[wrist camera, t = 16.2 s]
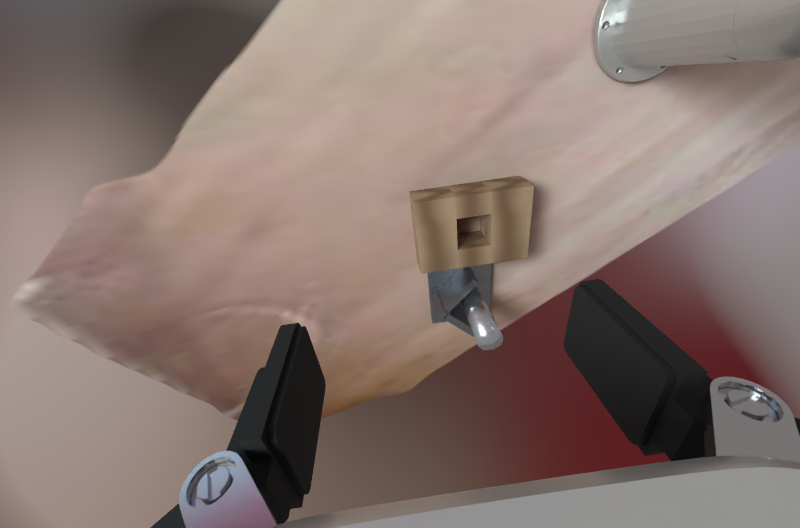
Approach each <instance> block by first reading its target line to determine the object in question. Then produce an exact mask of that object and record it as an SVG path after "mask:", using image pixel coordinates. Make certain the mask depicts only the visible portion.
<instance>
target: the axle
mask: <svg viewBox="0 0 800 528" xmlns="http://www.w3.org/2000/svg"><path fill="white" fill-rule="evenodd" d="M460 302H461V304H462V307H463V309H464V312H465V314H466V316H467V319H468V321H469V324H470V326H471V329H472V331H473V334H474V336H475V339H476V341H477V344H478V346H479V347H480V348H481V349H483V350H492V349H495V348H497V347H498V346H499V345H501V343H502V341H503V336H502V334H501V332H500V330H499V328H498V326H497V324H496V322H495V320H494V318H493V316H492V314H491V312H490V310H489V308H488V306H487V304H486V302H485V300H484V298H483V297H482V295H481V293H480V291H479V289H478V287H477V286H476V287H475V288H474V289H473V290H472V291H471V292H470V293H469V294H468V295H467V296H466V297H464V298H463V299H462V300H461V301H460Z"/></svg>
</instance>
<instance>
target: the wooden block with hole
mask: <svg viewBox="0 0 800 528" xmlns="http://www.w3.org/2000/svg"><path fill="white" fill-rule="evenodd" d="M533 194H534V185H532V184H531V183H529V182H528V181H526V180H525V179H523V178H521V177H520V176H515V177H508V178H501V179H494V180H487V181H480V182H473V183H466V184H459V185H452V186H445V187H438V188H431V189H424V190H417V191H410V199H411V209H412V218H413V227H414V236H415V245H416V255H417V260H418V264H419V268H420V272H421V274H422V273H429V272H436V271H442V270H449V269H456V268H463V267H470V266H477V265H484V264H491V263H497V262H504V261H511V260H518V259H525V258H527V256H528V246H529V236H530V225H531V215H532V205H533ZM474 216H480V231H476V232H469V233H462V234H457V219H460V218H467V217H474Z"/></svg>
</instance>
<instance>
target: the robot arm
mask: <svg viewBox="0 0 800 528" xmlns="http://www.w3.org/2000/svg"><path fill="white" fill-rule="evenodd" d="M602 25H603V28H602ZM593 43H594V51H595V55H596V58H597V61H598V64H599V65H600V67H601V68H602V70H603V71H604V72H605V73H606V74H607V75H608V76H609V77H611V78H613V79H615V80H618V81H623V82H637V81H643V80H646V79H649V78H652V77H654V76H656V75H658V74H660V73H661V72H663V71H664V70H666V69H667V68H668V67H670V66H677V65H698V64H718V63H739V62H759V61H779V60H789V59H795V58H800V0H603V2H602V4H601V6H600V9H599V12H598V15H597V18H596V23H595V28H594V42H593ZM616 70H617V71H616ZM564 348H565V351H566V353H567V354H568V356H569V357H570V359H571V360H572V361H573V363H574V364H575V366H576V367H577V368H578V370H579V371H580V373H581V374H582V375H583V377H584V378H585V380H586V381H587V382H588V384H589V385H590V387H591V388H592V389H593V391H594V392H595V394H596V395H597V396H598V398H599V399H600V401H601V402H602V403H603V405H604V406H605V408H606V409H607V410H608V412H609V413H610V414H611V416H612V417H613V419H614V420H615V421H616V423H617V424H618V426H619V427H620V428H621V430H622V431H623V433H624V434H625V435H626V437H627V438H628V440H629V441H630V442H631V443H632V444H634V445H638V446H639V448H640V449H641V451H642V452H643V454H644V455H645V456H646V455H653V454H659V453H664V452H665V454H666V455H667V456H668V457H669V459H670V460H671V461H670V462H662V463H654V464H646V465H639V466H632V467H625V468H618V469H611V470H605V471H597V472H590V473H583V474H576V475H570V476H563V477H556V478H549V479H543V480H536V481H529V482H522V483H516V484H509V485H503V486H496V487H489V488H483V489H477V490H469V491H463V492H457V493H450V494H444V495H438V496H431V497H424V498H418V499H412V500H405V501H398V502H392V503H385V504H379V505H373V506H367V507H361V508H355V509H350V510H344V511H338V512H332V513H327V514H322V515H316V516H311V517H307V518H302V519H298V520H294V521H290V522H286V523H285V521H286V520H287V519H288V517H289V512H290V509H293V508H299V507H302V504H303V497H304V494H308V493H309V491H310V487H311V480H312V474H313V468H314V461H315V454H316V447H317V441H318V434H319V427H320V421H321V414H322V407H323V401H324V394H325V379H324V376H323V373H322V370H321V367H320V365H319V362H318V359H317V356H316V354H315V351H314V348H313V345H312V343H311V340H310V337H309V334H308V331H307V329H306V327H305V326H303V327H301V326H300V324H299V323H294V324H288V325H282V326H281V327H280V328H279V331H278V334H277V336H276V339H275V342H274V345H273V347H272V350H271V353H270V355H269V358H268V361H267V363H266V366H265V367H264V368H261V369H259V370H258V372H257V374H256V376H255V379H254V382H253V384H252V387H251V389H250V392H249V394H248V397H247V399H246V402H245V405H244V407H243V410H242V412H241V415H240V417H239V420H238V422H237V425H236V428H235V430H234V433H233V435H232V438H231V441H230V443H229V446H228V448H227V451H221V452H218V453H215V454H213V455H211V456H209V457H208V458H206V459H204V460H203V461H202V462H201V463H200V464H198V465H197V466H196V467H195V468H194V469H193V470H192V472H191V473H190V474H189V475H188V477H187V478H186V480H185V482H184V484H183V485H182V488H181V491H180V495H179V504H178V505H176V506H175V507H174V508H173V509H172V510H171V511H169V512H168V513H167V514H166V515H165V516H164V517H162V518H161V519H160V520H159V521H158V522H157V523H156V524H154V525H153V526H152V527H151V528H800V419H797V418H795V417H794V416H793V414H792V412H791V410H790V409H789V406H788V405H787V404H786V403H785V402H783V400H782V399H781V398H779V397H778V396H776V395H775V394H774V393H772V392H771V391H769V390H768V389H766V388H764V387H762V386H760V385H758V384H756V383H753V382H750V381H747V380H745V379H740V378H735V377H720V378H716V379H715V380H712V379H710V378H709V377H708V376H707V375H706V374H707V371H706V370H705V369H704V368H703V367H701V366H700V365H699V364H698V363H697V362H696V361H695V360H694V359H692V358H691V357H690V356H689V355H688V354H686V353H685V352H684V351H683V350H682V349H681V348H679V347H678V346H677V345H676V344H675V343H674V342H673V341H672V340H670V339H669V338H668V337H667V336H666V335H665V334H663V333H662V332H661V331H660V330H659V329H658V328H657V327H655V326H654V325H653V324H652V323H651V322H650V321H648V320H647V319H646V318H645V317H644V316H643V315H641V314H640V313H639V312H638V311H637V310H636V309H635V308H633V307H632V306H631V305H630V304H629V303H628V302H627V301H625V300H624V299H623V298H622V297H621V296H620V295H618V294H617V293H616V292H615V291H614V290H613V289H612V288H610V287H609V286H608V285H607V284H606V283H605V282H603V281H602V280H600V279H595V280H589V281H582V282H580V284H579V286H577V287H576V288H575V290H574V294H573V299H572V304H571V310H570V315H569V320H568V325H567V330H566V335H565V341H564Z"/></svg>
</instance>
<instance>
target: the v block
mask: <svg viewBox="0 0 800 528" xmlns="http://www.w3.org/2000/svg"><path fill="white" fill-rule="evenodd" d="M491 264H492V263H491ZM491 264H484V265H477V266H470V267H463V268H456V269H449V270H442V271H436V272H429V273H428V284H429V295H430V306H431V317H432V323H438V322H445V321H448V322H450V323H451V324H453V325H455V326H456V327H458V328H460V329H461V330H463V331H465V332H466V333H468V334H470V335H471V336H473V337H474V334H473V331H472V329H471V326H470V324H469V321H468V319H467V316H466V314H465V312H464V309H463V307H462V304H461V302H460V301H461V300H462V299H463V298H464V297H466V296H467V295H468V294H469V293H470V292H471V291H472V290H473V289H474V288H475V287H476V286H477V287H478V289H479V291H480V293H481V295H482V297H483V298H484V300H485V302H486V304H487V306H488V308H489V310H490V297H491Z"/></svg>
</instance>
